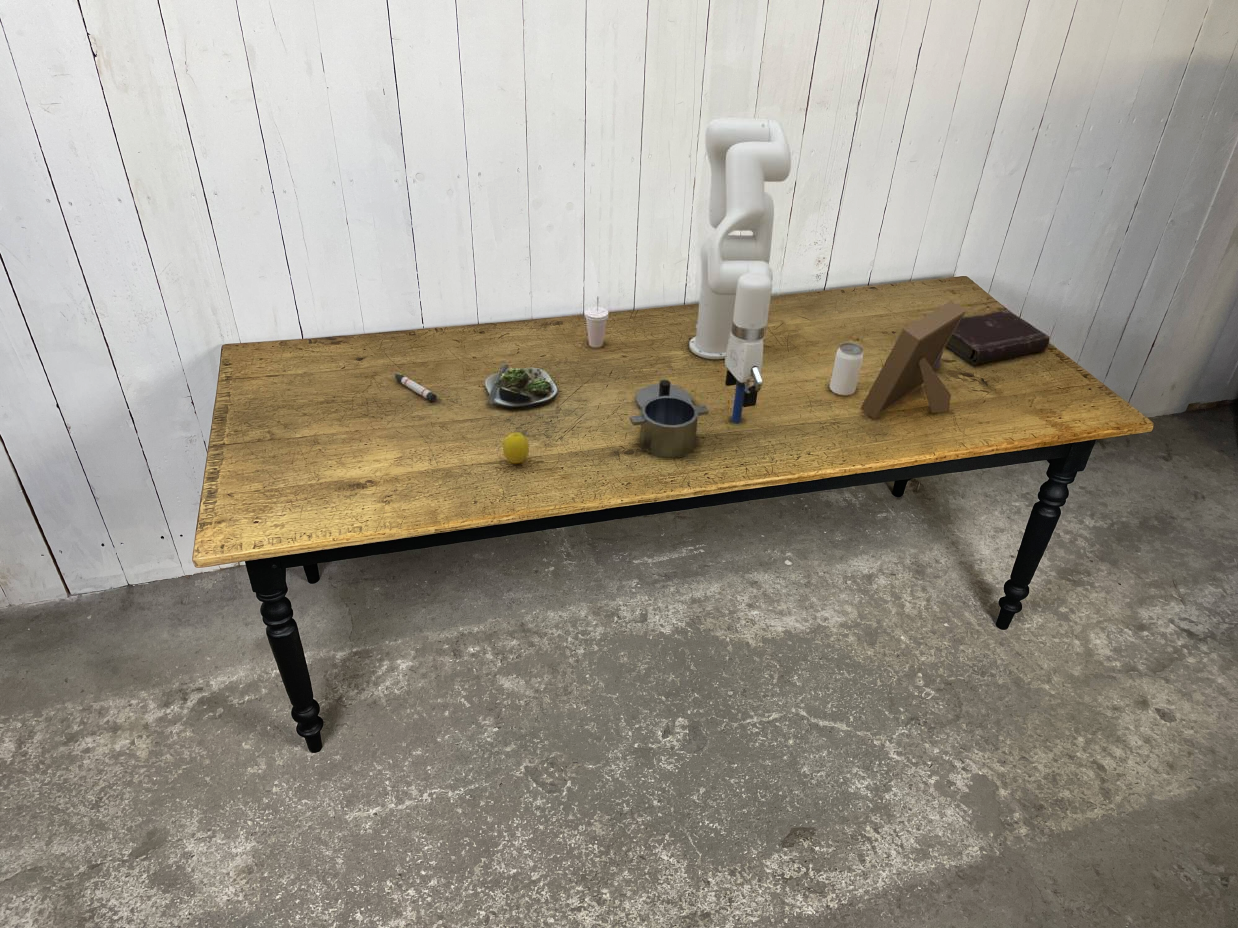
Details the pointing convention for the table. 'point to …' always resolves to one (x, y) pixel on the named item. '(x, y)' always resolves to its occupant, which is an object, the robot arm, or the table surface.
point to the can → (846, 369)
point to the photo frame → (915, 363)
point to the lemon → (515, 448)
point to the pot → (668, 426)
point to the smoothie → (596, 324)
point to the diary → (995, 338)
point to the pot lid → (660, 392)
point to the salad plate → (520, 388)
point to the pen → (738, 402)
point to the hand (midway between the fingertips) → (740, 395)
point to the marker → (416, 387)
